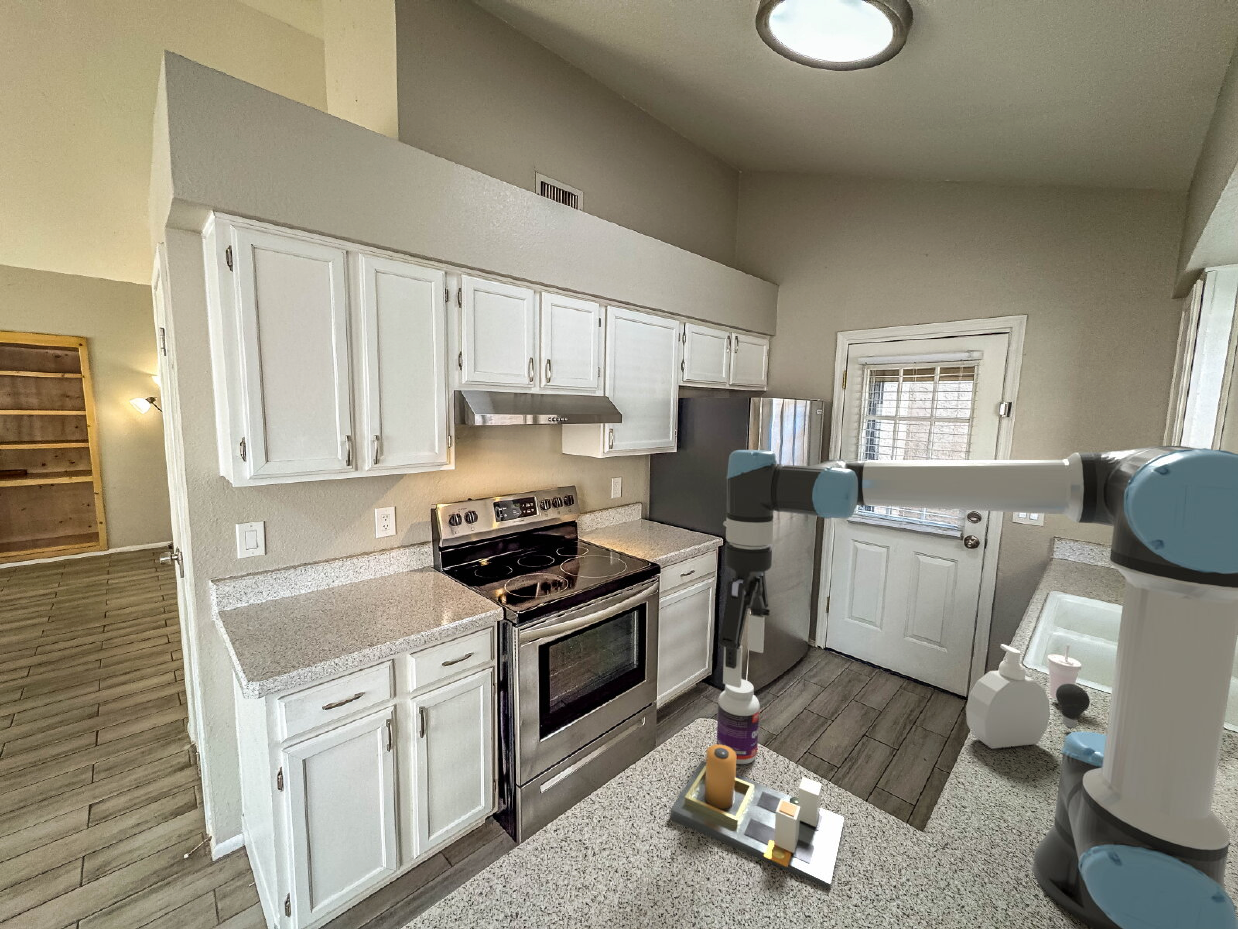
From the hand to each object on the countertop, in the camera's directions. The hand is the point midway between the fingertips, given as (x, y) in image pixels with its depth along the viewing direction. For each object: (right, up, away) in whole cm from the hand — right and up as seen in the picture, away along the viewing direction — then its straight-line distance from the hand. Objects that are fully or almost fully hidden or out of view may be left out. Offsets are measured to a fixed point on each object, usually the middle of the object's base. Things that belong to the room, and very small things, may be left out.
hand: (744, 666), depth 86 cm
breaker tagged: (+5, -24, -7) cm, 26 cm away
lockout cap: (-4, -23, +2) cm, 24 cm away
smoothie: (+88, -24, +39) cm, 99 cm away
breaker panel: (+2, -26, -1) cm, 26 cm away
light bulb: (+79, -25, +27) cm, 87 cm away
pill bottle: (+2, -24, +16) cm, 29 cm away
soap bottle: (+61, -25, +23) cm, 70 cm away
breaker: (+10, -24, -2) cm, 26 cm away
